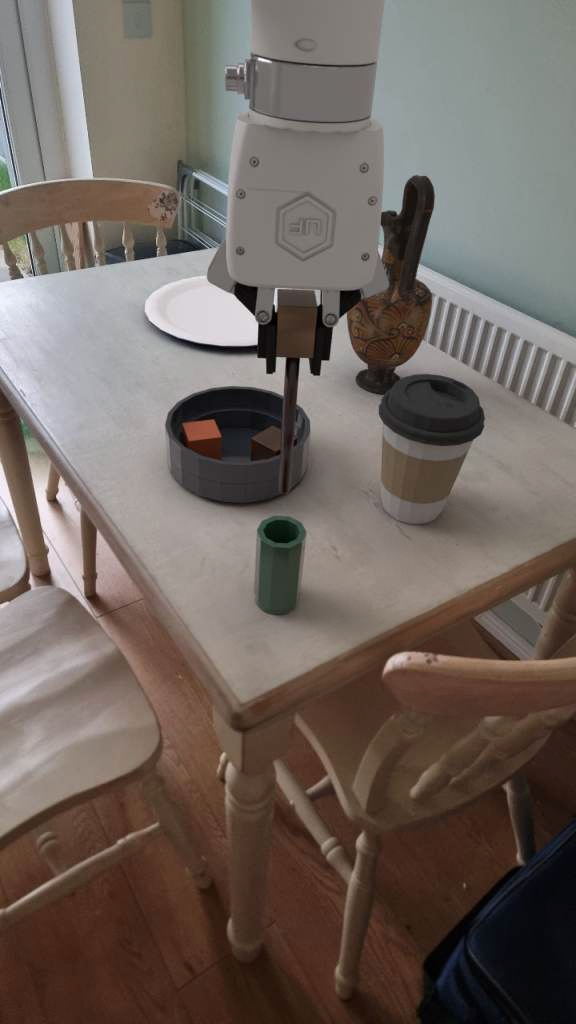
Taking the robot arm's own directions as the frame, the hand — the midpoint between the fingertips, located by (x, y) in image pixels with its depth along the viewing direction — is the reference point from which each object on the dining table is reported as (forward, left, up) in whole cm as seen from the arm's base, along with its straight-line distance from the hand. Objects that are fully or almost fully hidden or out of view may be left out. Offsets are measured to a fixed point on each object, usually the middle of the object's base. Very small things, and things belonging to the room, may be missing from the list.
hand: (292, 364), depth 54 cm
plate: (-29, +59, -26) cm, 71 cm away
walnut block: (-7, +20, -25) cm, 33 cm away
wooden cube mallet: (0, 0, -12) cm, 12 cm away
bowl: (-12, +19, -26) cm, 34 cm away
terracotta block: (-16, +18, -25) cm, 35 cm away
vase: (0, +46, -26) cm, 53 cm away
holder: (0, -1, -26) cm, 26 cm away
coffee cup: (+10, +19, -26) cm, 34 cm away
